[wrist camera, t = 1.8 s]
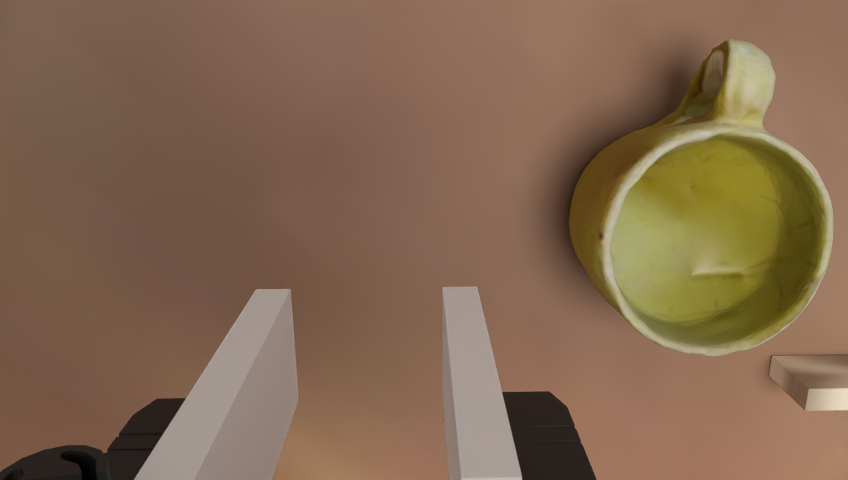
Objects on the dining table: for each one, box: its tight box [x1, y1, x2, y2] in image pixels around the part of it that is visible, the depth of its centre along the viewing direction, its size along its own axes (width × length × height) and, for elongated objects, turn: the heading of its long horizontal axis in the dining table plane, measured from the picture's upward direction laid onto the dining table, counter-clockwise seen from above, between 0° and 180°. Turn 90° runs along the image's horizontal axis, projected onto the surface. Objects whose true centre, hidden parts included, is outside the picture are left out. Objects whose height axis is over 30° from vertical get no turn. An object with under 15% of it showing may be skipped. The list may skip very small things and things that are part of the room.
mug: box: [569, 39, 834, 357], centre depth 29 cm, size 12×10×10 cm
